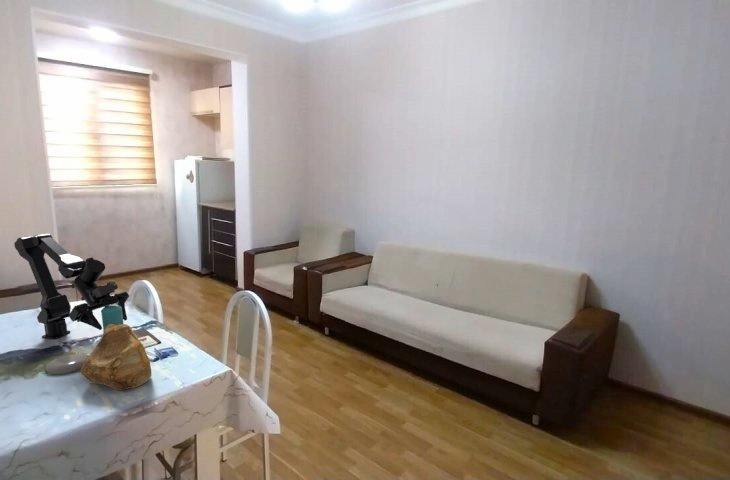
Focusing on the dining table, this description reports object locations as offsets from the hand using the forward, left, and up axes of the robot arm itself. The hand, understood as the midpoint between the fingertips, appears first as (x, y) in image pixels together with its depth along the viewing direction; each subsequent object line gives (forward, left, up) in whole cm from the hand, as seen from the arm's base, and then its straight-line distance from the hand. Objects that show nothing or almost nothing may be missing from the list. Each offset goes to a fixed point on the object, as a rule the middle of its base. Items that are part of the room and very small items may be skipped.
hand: (114, 324), depth 144 cm
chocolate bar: (+1, +11, -11) cm, 15 cm away
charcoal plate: (-8, -12, -10) cm, 17 cm away
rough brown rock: (+13, -17, -10) cm, 24 cm away
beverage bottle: (-1, 0, -10) cm, 10 cm away
